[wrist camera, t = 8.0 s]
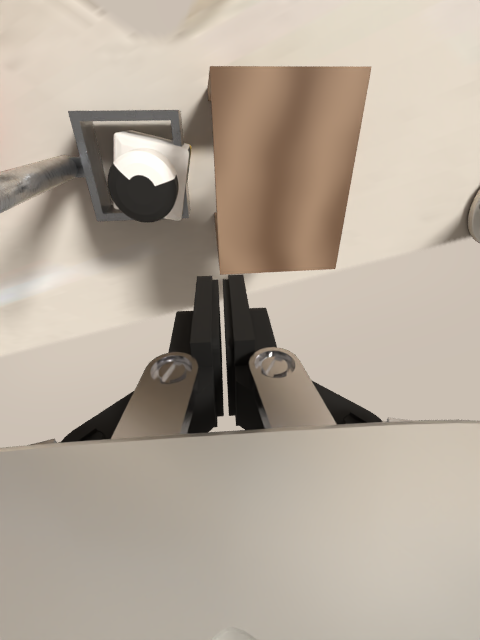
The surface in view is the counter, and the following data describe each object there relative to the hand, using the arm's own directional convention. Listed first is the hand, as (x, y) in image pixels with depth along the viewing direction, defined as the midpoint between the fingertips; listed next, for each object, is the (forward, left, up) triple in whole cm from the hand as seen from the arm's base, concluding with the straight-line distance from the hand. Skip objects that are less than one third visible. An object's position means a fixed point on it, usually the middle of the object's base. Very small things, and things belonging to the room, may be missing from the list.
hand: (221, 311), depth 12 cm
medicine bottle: (+6, -1, -32) cm, 33 cm away
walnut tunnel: (-6, -2, -32) cm, 32 cm away
